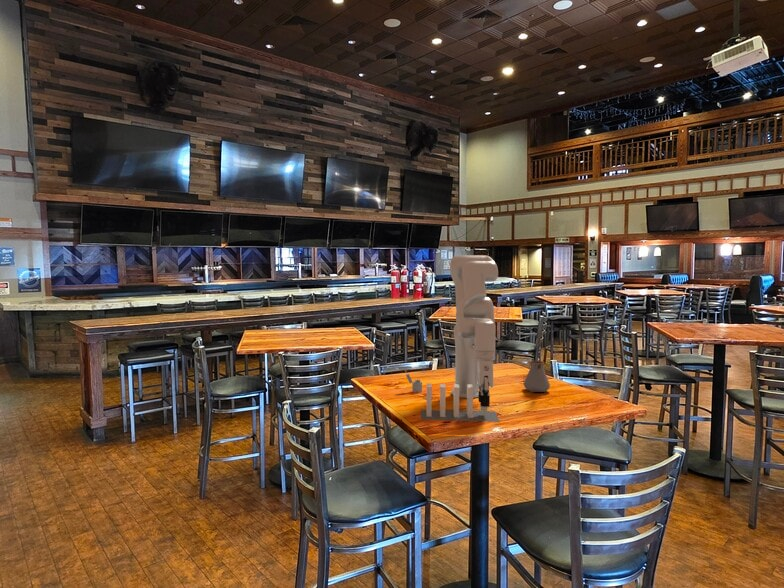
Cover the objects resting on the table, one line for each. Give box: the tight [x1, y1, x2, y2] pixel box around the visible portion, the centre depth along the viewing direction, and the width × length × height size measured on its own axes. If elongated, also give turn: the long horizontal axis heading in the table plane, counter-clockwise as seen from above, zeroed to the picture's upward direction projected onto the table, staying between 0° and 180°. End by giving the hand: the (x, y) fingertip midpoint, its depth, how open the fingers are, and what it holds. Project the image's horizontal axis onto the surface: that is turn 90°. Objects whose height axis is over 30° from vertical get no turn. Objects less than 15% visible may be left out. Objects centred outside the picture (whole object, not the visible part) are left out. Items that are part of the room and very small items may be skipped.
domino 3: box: [452, 383, 460, 417], centre depth 175 cm, size 2×5×11 cm, turn 176°
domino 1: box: [425, 383, 433, 417], centre depth 176 cm, size 2×5×11 cm, turn 176°
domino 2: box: [439, 383, 447, 417], centre depth 175 cm, size 2×5×11 cm, turn 176°
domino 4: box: [466, 384, 474, 418], centre depth 174 cm, size 2×5×11 cm, turn 176°
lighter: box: [405, 372, 423, 393], centre depth 209 cm, size 7×2×8 cm, turn 91°
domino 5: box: [480, 384, 488, 414], centre depth 174 cm, size 2×5×11 cm, turn 176°
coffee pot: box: [523, 360, 551, 393], centre depth 207 cm, size 21×12×15 cm, turn 167°
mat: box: [420, 408, 501, 423], centre depth 175 cm, size 28×12×1 cm, turn 86°
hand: (483, 403), depth 174 cm, fingers closed on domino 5, 4 cm apart
